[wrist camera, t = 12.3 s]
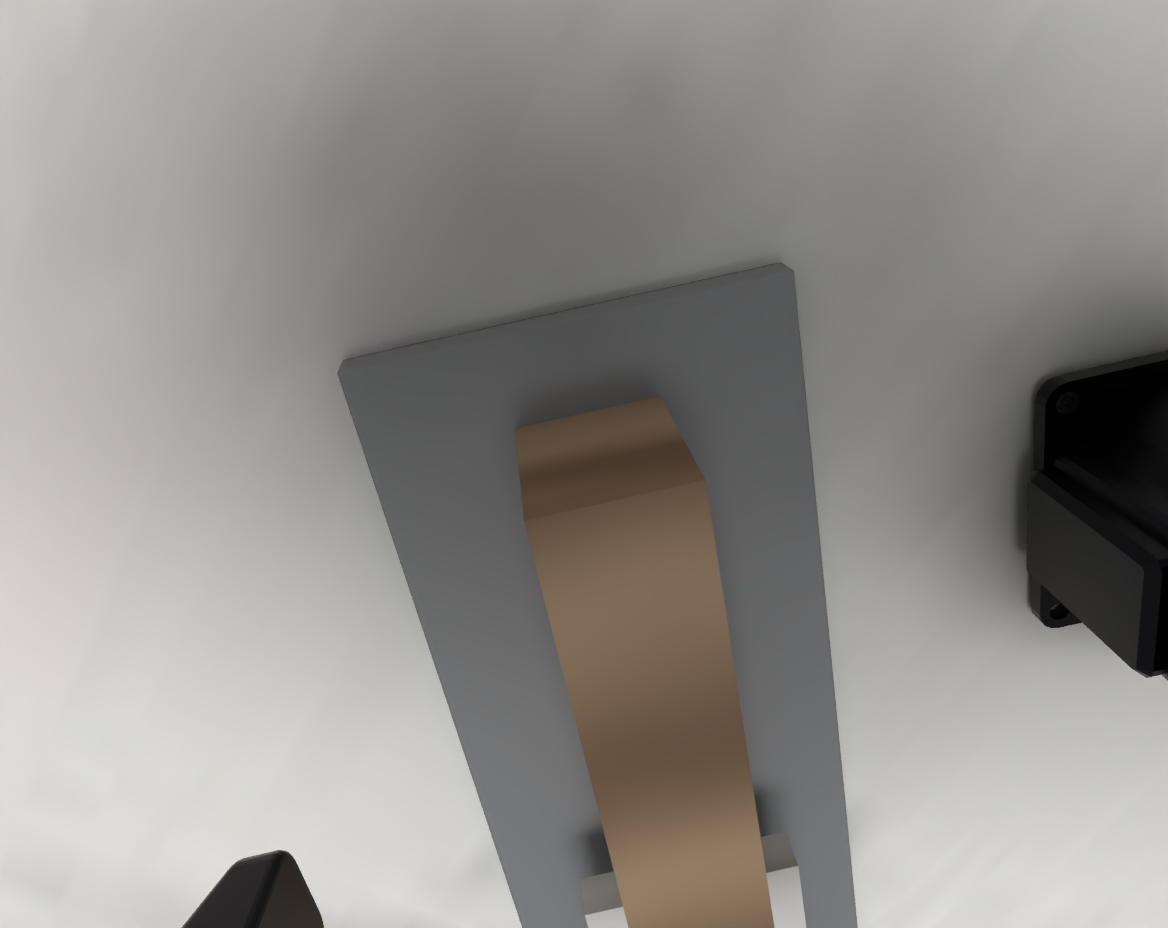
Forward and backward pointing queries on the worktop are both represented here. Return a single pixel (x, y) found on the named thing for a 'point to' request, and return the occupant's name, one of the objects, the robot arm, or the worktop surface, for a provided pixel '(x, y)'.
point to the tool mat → (511, 585)
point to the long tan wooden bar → (650, 673)
